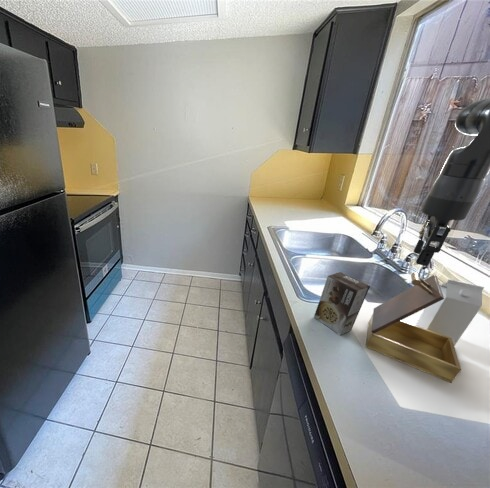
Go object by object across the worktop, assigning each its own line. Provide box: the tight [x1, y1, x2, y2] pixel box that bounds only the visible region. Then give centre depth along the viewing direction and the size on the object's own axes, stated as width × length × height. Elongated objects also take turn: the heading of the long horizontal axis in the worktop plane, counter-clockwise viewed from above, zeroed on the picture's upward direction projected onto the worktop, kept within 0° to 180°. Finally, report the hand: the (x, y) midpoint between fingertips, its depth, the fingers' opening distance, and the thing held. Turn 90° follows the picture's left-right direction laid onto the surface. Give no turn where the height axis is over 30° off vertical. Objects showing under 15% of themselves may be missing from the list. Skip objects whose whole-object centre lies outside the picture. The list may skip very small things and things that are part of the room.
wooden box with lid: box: [365, 313, 462, 384], centre depth 73 cm, size 18×14×5 cm
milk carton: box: [415, 278, 485, 347], centre depth 75 cm, size 7×7×19 cm
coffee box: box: [313, 271, 371, 336], centre depth 79 cm, size 9×6×16 cm
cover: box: [371, 272, 444, 333], centre depth 71 cm, size 18×14×5 cm
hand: (419, 258), depth 66 cm, fingers open, 8 cm apart
